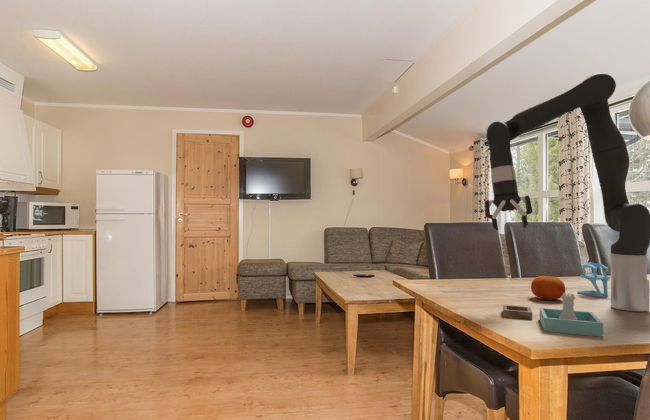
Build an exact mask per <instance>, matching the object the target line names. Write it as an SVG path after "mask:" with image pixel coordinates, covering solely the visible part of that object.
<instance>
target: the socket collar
mask: <svg viewBox="0 0 650 420" xmlns="http://www.w3.org/2000/svg"><path fill="white" fill-rule="evenodd" d="M502 317H503V318H512V319H522V320H523V319H524V320H533V311H532V308H531V306H523V305H512V304H511V305H510V304H509V305H508V304H502Z"/></svg>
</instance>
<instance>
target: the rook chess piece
mask: <svg viewBox="0 0 650 420" xmlns="http://www.w3.org/2000/svg"><path fill="white" fill-rule="evenodd" d="M560 299H562V302H561V303H562V308H561V309H562V313H561V315H560V316H559V319H569V320H578V319H577V318H576V317H575V316H576V315H575V313H574V311H575V309H574V305H575V302H574V301H575V299H576V297H575V294H574V293H570V292H567V293H566V292H565V293H563V295H562V296H561V298H560Z"/></svg>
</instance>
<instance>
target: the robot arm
mask: <svg viewBox="0 0 650 420" xmlns="http://www.w3.org/2000/svg"><path fill="white" fill-rule="evenodd" d="M616 88H617V83H616V80H615V79H614V77H613V76H612V75H610V74H608V73H602V72H601V73H595V74H592V75H589V76H587V78H585V79H584V80H583V81H582V82H579V84H577V85H576V86H574V87H572V88H570V89H569V90H567V91H565V92H563V93H561V94H559V95H557V96H554V97H552V98H549V99H548V100H545V101H543V102H541V103H538V104H535V105H533V106H530V107H528V108H527V109H525V110H523V111H521V112H518V113H517V114H515V115H514V116H513V117H511V118H510V119H509V120H506V121H505V122H504V121H500V120H498V121H497V120H496V121H493V122H492V123H491V124H489V126H487V128H486V141H487V142H488V143H487V144H488V147H489V148H488V149H489V165H490V172H491V176H490V177H491V185H492V186H491V187H492V193H493V199H491V200H490V199H485V201H484V213H485V218H486V219H490V220H491V223H492V229H493V230H494V231H499V226H498V219H497V218H498V217H497V216H498V215H499V213H500V212H507V211H509V212H511V211H514V210H515V211H516V212H517V213H518V214H519V215H520V218H521V219H520V220H521V225H522V226H521V227H522V229H526V228H527V226H528V225H529V222H528V215H530V214H532V213H533V208H532V207H533V206H532V203H531V198H530V196H529V195H525V196H520V195H519V191H518V183H517V175H516V171H515V167H514V162H513V155H512V149H511V141H512V140H515V139H516V138H518V137H519V136H522V135H523V134H525V133H528V132H530V131H531V132H532V131H533V130H536V129H538V128H540V127H542V126H544V125H546V124H548V123H550V122H552V121H553V120H555V119H557V118H559V117H561V116H564V115H565V114H567V113H570V112H572V111H574V110H577V109H579V108H580V111H581V113H582V116H583V119H584V121H585V126H586V130H587V131H586V132H587V135H588V141H589V145H590V150H591V154H592V159H593V163H594V166H595V170H596V173H597V178H598V182H599V186H600V192H601V195H602V196H601V197H602V204H603V205H602V206H603V214H604V219H605V223H606V224H607V226H608V227H609V229H611V230H613V232H618V234H619V235H618V239H617V241H615V242H614V243H612V244H611V246H610V307H611V308H613V309H616V310H623V311H627V312H628V311H629V312H650V280H649V279H648V278H647V277H648V265H647V264H648V262H647V261H648V258H647V257H648V249H649V247H650V211H649V209H648V208H647V207H646V206H645V205H643V204H641V203H630V202H629V199H628V195H627V190H626V181H627V177H628V173H629V168H630V156H629V151H628V147H627V143H626V141H625V139H624V137H623V135H622V133H621V131H620V129H619V128H618V126H617V124H615V122H614V120H613V117H612V114H611V111H610V105H609V99H610V98H611V97H612V96H613V95H614V93H615V92H616ZM520 202H522V203H524V204H525V209H526V211H525V210H524V209H523V208H522V207H521V206H520V204H519V203H520ZM492 205H494V206H495V207H496V209H495V211H494V212H493V213H492V214H491V211H490V210H491V209H490V208H491V206H492Z"/></svg>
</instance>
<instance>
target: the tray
mask: <svg viewBox="0 0 650 420" xmlns="http://www.w3.org/2000/svg"><path fill="white" fill-rule="evenodd" d="M562 309H563V308H560V309H559V308H549V307H547V308H546V307H539V322H540V323H541V326H542V329H543V331H544V332H552V333H559V334H561V333H562V334H570V335H572V334H573V335H580V336H590V337H600V338H603V337H604V323H603V321H601V320H600V319H599V318H598V317H597V315H595V313H594V312H593V311H585V310H584V311H581V310H574V313H575V315H576V316H575V317H576V318H577V319H578V320H569V319H559V316H560V315H561V313H562Z"/></svg>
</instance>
